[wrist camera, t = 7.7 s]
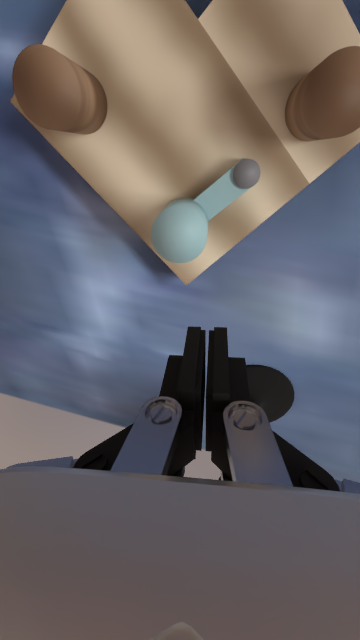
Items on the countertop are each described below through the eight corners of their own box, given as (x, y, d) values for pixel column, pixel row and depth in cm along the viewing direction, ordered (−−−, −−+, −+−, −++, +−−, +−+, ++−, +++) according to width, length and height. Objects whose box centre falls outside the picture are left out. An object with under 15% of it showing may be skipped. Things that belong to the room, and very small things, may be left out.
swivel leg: (242, 140, 22) (248, 137, 17) (270, 186, 23) (282, 193, 19) (152, 217, 25) (139, 231, 21) (181, 253, 26) (174, 273, 22)
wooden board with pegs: (211, -192, 17) (207, -453, 9) (377, 114, 23) (453, 96, 15) (31, 106, 25) (-44, 87, 18) (188, 274, 31) (180, 310, 24)
